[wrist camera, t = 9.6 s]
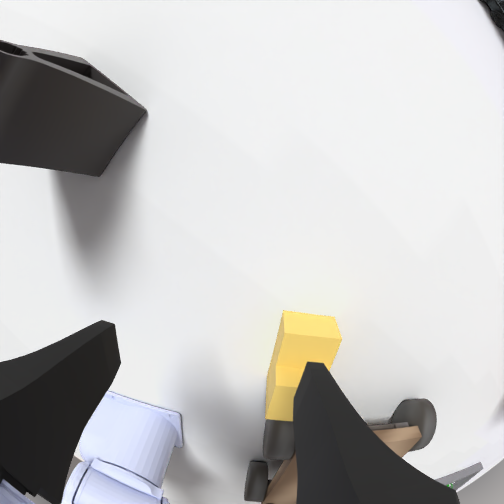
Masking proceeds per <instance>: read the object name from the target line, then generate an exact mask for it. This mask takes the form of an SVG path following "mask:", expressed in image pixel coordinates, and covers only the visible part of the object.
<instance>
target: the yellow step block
mask: <svg viewBox="0 0 504 504" xmlns="http://www.w3.org/2000/svg"><path fill="white" fill-rule="evenodd" d="M341 340H342V337H341V334H340V332H339V329H338V326H337V323H336V320H335V317H331V316H322V315H314V314H306V313H299V312H292V311H284V310H283V314H282V318H281V322H280V326H279V331H278V335H277V339H276V343H275V347H274V351H273V355H272V359H271V363H270V367H269V370H268V374H267V387H266V411H265V419H271V420H282V421H293V399H294V396H295V393H296V390H297V388H298V385H299V382H300V380H301V377H302V374H303V372H304V369H305V366H306V363H307V361H308V362H319V363H324V364H325V366H326V367H327V369H328V370H330V368H331V365H332V363H333V360H334V358H335V356H336V353H337V351H338V348H339V346H340V343H341Z"/></svg>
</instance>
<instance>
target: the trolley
mask: <svg viewBox="0 0 504 504" xmlns="http://www.w3.org/2000/svg"><path fill="white" fill-rule="evenodd" d="M436 422H437V419H436V412H435V409H434V406H433V405H432V403H431V402H430V401H429V400H427V399H413V400H406V401H403V402H402V403H401V404H400V405H399V406H398V407H397V409H396V411H395V413H394V415H393V419H392V423H391V424H383V425H370V426H369V428H370V429H371V430H372V431H373V432H374V433H375V434H376V435H377V436H378V437H379V438H380V439H381V440H382V441H383V442H384V443H385V444H386V445H387V446H388V447H389V448H390V449H391V450H393V451H394V452H395V453H396V454H397V455H399V456H400V457H401V458H402V457H403V456H404V455H405V454H406V453H407V452H410V451H415V450H419V449H422V448H424V447H426V446H427V445H428V444H429V442H430V441H431V439H432V438H433V435H434V433H435V429H436ZM263 456H264V458H265V459H279V460H284V461H283V463H282V465H281V466H280V468H279V470H278V471H277V473H276V475H275V476H274V478H273V479H272V480H268V464H267V463H264V462H253V461H251V462H250V464H249V467H248V471H247V477H246V483H245V492H244V499H245V501H255V502H261V504H296V499H297V462H296V451H295V441H294V430H293V421H282V420H271V419H266V424H265V431H264V440H263Z"/></svg>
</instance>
